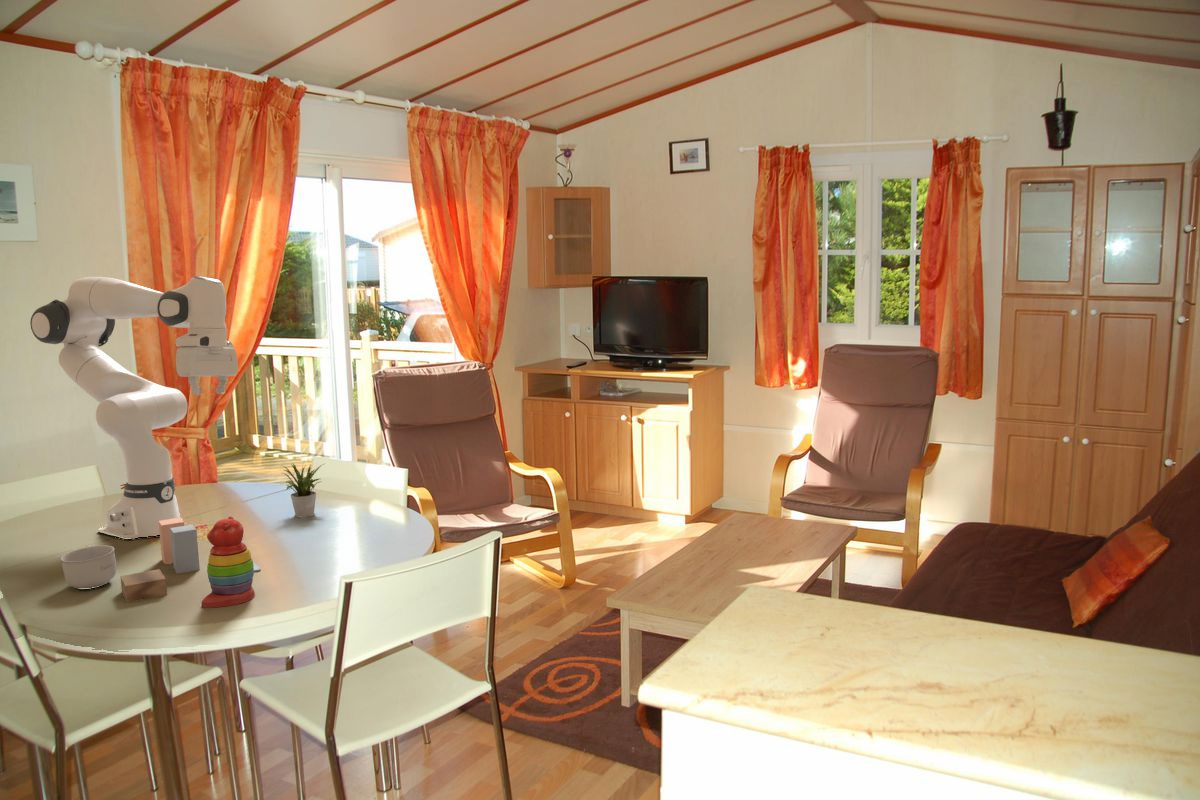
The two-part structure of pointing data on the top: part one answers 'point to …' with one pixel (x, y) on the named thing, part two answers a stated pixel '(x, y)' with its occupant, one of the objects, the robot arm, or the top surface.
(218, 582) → the stacking bear
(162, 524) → the terracotta pillar
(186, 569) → the slate pillar
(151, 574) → the walnut block
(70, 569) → the teacup
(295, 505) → the house plant
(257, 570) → the slate swatch
